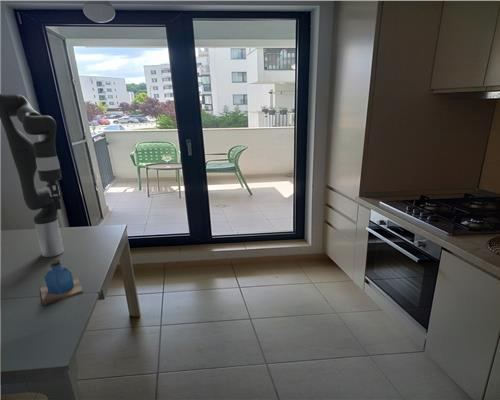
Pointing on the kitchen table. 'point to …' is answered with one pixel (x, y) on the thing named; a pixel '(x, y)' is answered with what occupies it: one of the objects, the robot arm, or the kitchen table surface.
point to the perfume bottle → (58, 278)
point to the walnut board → (52, 297)
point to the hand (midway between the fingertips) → (57, 206)
